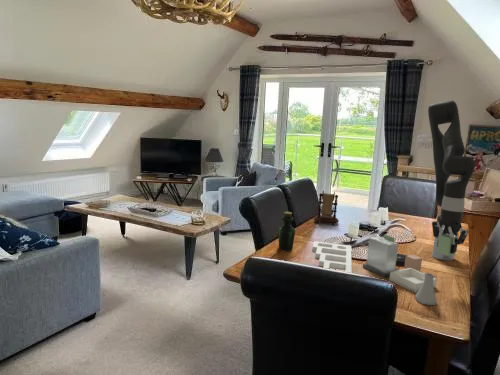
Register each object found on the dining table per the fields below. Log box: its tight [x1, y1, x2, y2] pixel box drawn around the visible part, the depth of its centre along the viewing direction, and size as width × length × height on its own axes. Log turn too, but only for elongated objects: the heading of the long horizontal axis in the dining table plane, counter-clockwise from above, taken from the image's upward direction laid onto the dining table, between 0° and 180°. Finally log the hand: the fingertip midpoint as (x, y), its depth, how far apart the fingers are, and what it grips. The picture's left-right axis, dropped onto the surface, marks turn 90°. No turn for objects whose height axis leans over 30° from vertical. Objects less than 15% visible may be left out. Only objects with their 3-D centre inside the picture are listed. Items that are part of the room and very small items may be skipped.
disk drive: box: [395, 253, 409, 267], centre depth 172 cm, size 10×3×15 cm
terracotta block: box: [403, 254, 423, 272], centre depth 159 cm, size 4×4×7 cm
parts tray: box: [389, 268, 438, 294], centre depth 148 cm, size 12×12×4 cm
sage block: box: [437, 234, 456, 256], centre depth 145 cm, size 4×4×7 cm
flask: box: [414, 272, 438, 306], centre depth 133 cm, size 7×7×10 cm
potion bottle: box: [278, 211, 296, 252], centre depth 179 cm, size 8×8×18 cm
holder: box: [311, 240, 353, 273], centre depth 165 cm, size 45×18×3 cm, turn 165°
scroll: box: [313, 190, 339, 226], centre depth 231 cm, size 15×15×20 cm
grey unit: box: [362, 234, 400, 279], centre depth 159 cm, size 10×12×15 cm
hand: (446, 250), depth 146 cm, fingers closed on sage block, 4 cm apart
